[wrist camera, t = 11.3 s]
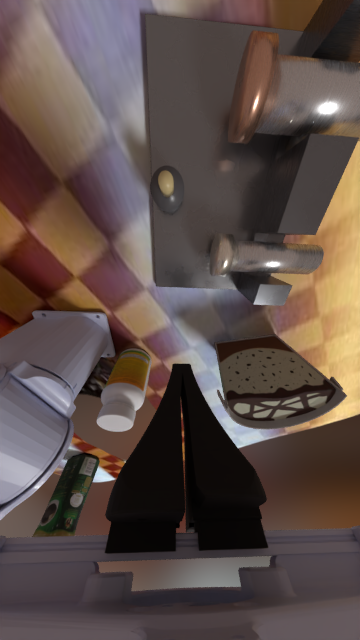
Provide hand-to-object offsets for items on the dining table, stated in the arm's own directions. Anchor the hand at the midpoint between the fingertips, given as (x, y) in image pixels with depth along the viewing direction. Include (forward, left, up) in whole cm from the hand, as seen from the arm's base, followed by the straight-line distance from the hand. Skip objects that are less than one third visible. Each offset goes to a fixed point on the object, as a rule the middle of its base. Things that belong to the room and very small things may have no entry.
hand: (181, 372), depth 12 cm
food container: (+11, -7, -10) cm, 16 cm away
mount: (+4, +13, -10) cm, 16 cm away
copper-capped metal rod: (+7, +17, -8) cm, 20 cm away
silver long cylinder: (+7, +8, -9) cm, 14 cm away
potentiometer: (-2, +12, -9) cm, 16 cm away
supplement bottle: (-7, -9, -10) cm, 15 cm away
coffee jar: (-28, -54, -10) cm, 62 cm away
